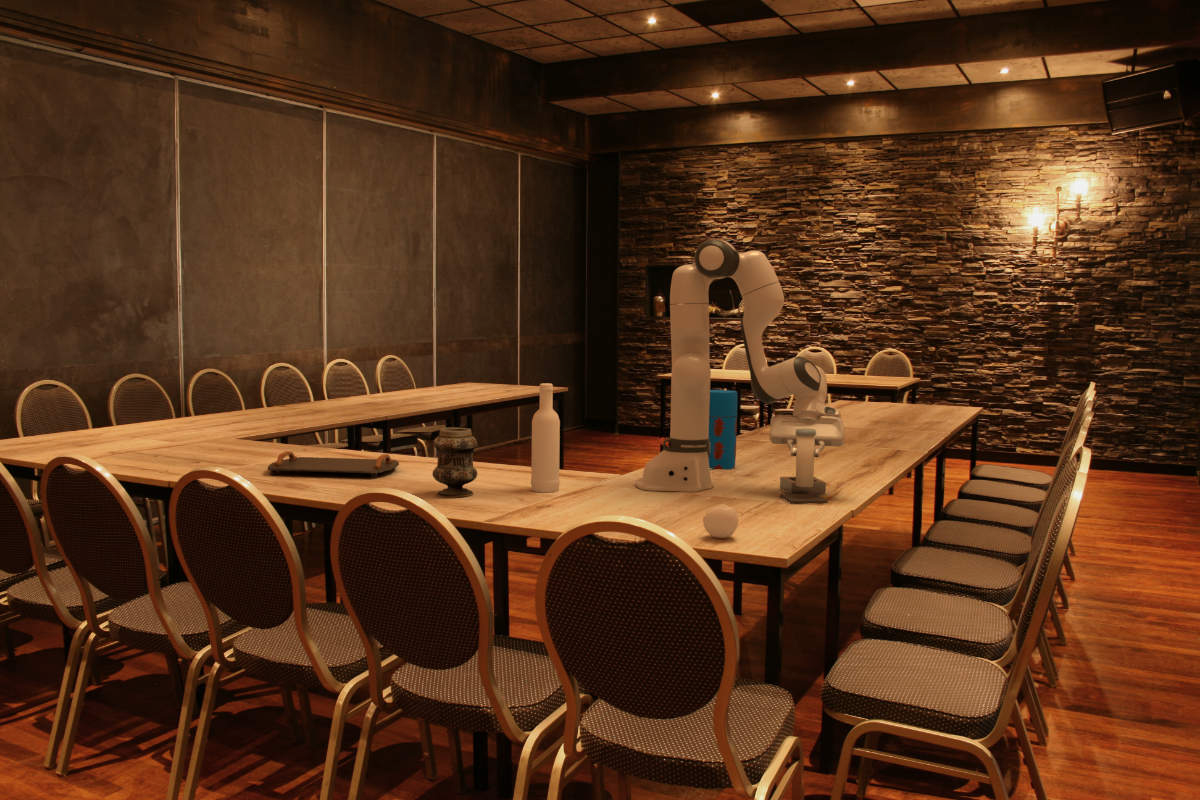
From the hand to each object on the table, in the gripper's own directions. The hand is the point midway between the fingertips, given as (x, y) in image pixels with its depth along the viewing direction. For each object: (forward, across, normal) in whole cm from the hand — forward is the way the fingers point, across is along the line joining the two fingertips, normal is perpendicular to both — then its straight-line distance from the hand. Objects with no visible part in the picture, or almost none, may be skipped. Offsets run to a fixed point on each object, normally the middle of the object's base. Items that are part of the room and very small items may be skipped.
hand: (805, 455), depth 263 cm
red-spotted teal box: (-25, -31, +43) cm, 59 cm away
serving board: (+12, -141, +4) cm, 142 cm away
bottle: (+16, -71, 0) cm, 72 cm away
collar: (0, -2, +18) cm, 18 cm away
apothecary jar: (+27, -91, -10) cm, 96 cm away
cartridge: (+6, 0, +6) cm, 8 cm away
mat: (+8, 0, +9) cm, 12 cm away
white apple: (+45, -14, -28) cm, 55 cm away
